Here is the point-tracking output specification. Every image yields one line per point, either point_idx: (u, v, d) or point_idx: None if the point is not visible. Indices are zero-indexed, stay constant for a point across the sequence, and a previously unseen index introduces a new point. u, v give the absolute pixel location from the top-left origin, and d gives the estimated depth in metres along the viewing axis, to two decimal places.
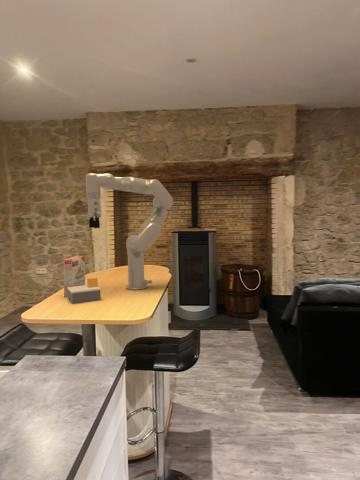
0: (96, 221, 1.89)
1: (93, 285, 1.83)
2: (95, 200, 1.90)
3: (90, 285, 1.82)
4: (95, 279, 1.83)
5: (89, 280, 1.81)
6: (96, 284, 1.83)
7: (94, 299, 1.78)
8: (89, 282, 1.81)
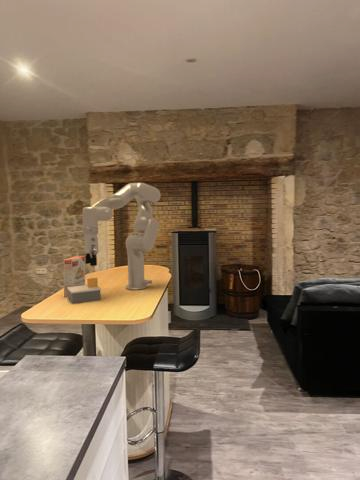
0: (93, 258, 1.76)
1: (93, 285, 1.83)
2: (92, 236, 1.76)
3: (90, 285, 1.82)
4: (95, 279, 1.83)
5: (89, 280, 1.81)
6: (96, 284, 1.83)
7: (94, 299, 1.78)
8: (89, 282, 1.81)
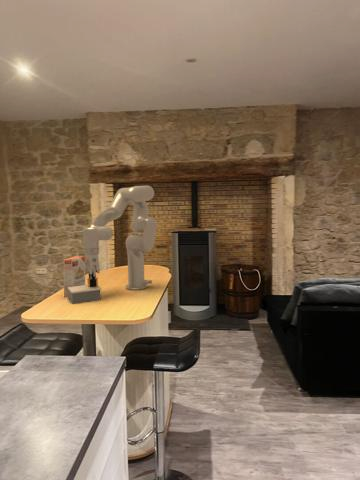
0: (92, 280, 1.81)
1: None
2: (93, 256, 1.77)
3: None
4: None
5: (89, 280, 1.81)
6: (96, 284, 1.83)
7: (94, 299, 1.78)
8: (89, 282, 1.81)
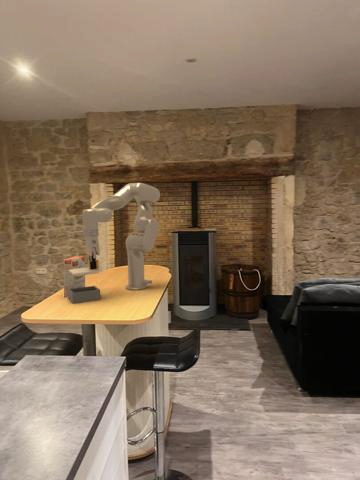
0: (93, 262, 1.80)
1: None
2: (93, 238, 1.77)
3: None
4: (96, 261, 1.83)
5: None
6: (97, 266, 1.83)
7: (94, 299, 1.78)
8: None
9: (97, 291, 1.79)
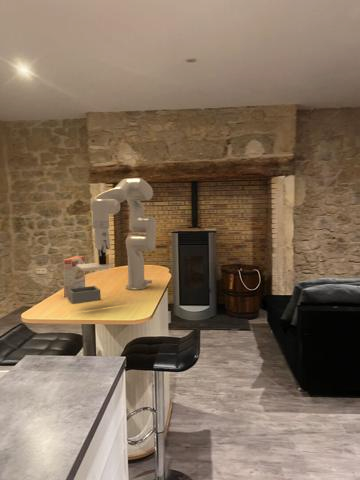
0: (102, 257, 1.66)
1: None
2: (103, 230, 1.63)
3: None
4: (106, 255, 1.68)
5: None
6: (107, 261, 1.69)
7: (94, 299, 1.78)
8: None
9: (97, 291, 1.79)
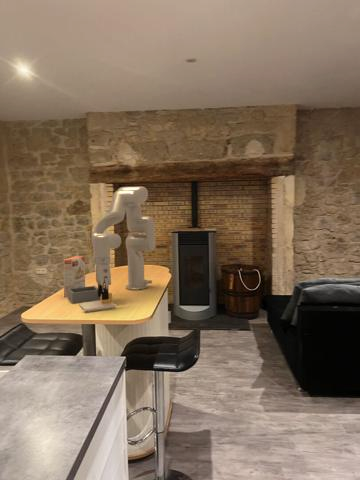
0: (105, 292, 1.65)
1: (107, 301, 1.70)
2: (104, 267, 1.64)
3: (104, 301, 1.69)
4: (109, 294, 1.70)
5: None
6: (110, 300, 1.71)
7: (94, 299, 1.78)
8: None
9: (97, 291, 1.79)
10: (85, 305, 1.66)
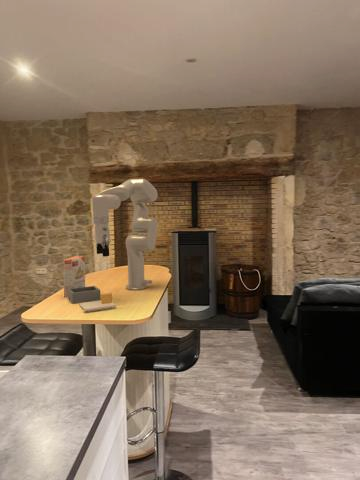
0: (105, 249, 1.70)
1: (107, 301, 1.70)
2: (104, 225, 1.70)
3: (104, 301, 1.69)
4: (109, 294, 1.70)
5: (103, 296, 1.69)
6: (110, 300, 1.71)
7: (94, 299, 1.78)
8: (103, 298, 1.69)
9: (97, 291, 1.79)
10: (85, 305, 1.66)
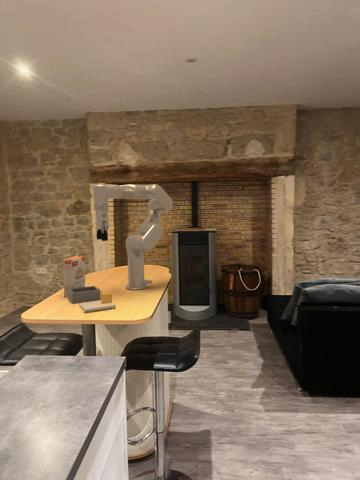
0: (104, 234, 1.84)
1: (107, 301, 1.70)
2: (103, 212, 1.84)
3: (104, 301, 1.69)
4: (109, 294, 1.70)
5: (103, 296, 1.69)
6: (110, 300, 1.71)
7: (94, 299, 1.78)
8: (103, 298, 1.69)
9: (97, 291, 1.79)
10: (85, 305, 1.66)
